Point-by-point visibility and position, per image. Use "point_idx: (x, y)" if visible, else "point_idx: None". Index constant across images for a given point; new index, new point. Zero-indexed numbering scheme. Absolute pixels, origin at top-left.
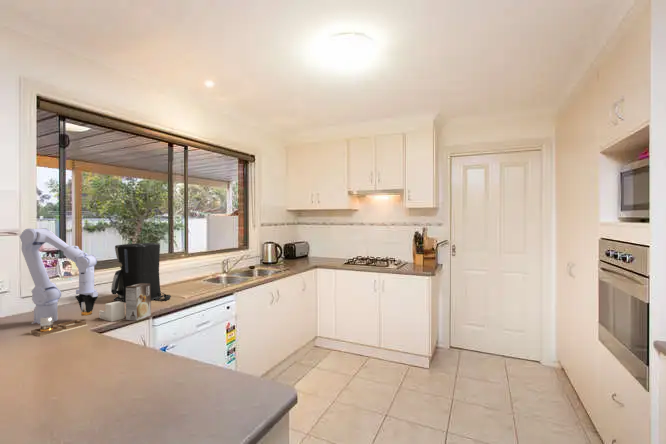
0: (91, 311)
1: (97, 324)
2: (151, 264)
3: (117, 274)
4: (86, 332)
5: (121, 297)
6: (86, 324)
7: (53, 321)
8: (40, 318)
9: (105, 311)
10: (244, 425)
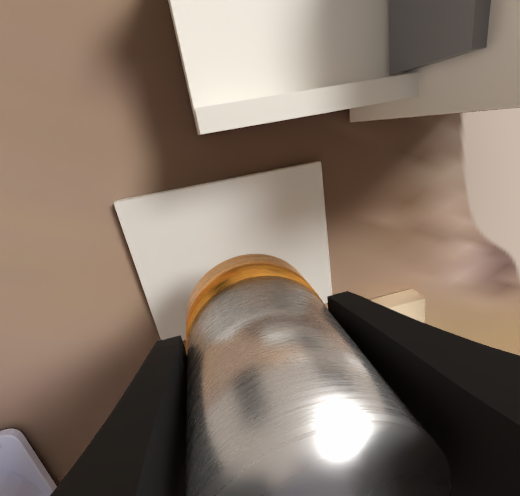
0: (311, 287)
1: (397, 218)
2: None
3: None
4: (512, 323)
5: None
6: (397, 309)
7: (28, 494)
8: None
9: (435, 113)
10: None
